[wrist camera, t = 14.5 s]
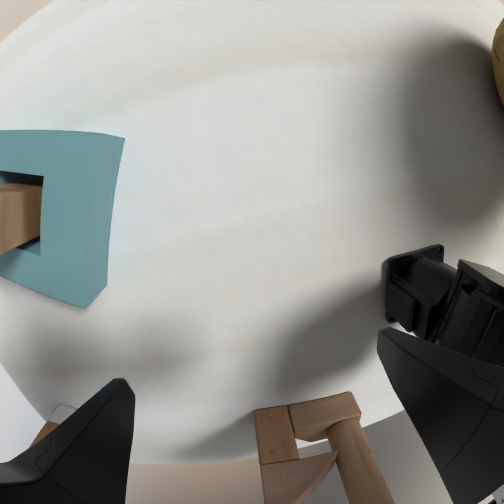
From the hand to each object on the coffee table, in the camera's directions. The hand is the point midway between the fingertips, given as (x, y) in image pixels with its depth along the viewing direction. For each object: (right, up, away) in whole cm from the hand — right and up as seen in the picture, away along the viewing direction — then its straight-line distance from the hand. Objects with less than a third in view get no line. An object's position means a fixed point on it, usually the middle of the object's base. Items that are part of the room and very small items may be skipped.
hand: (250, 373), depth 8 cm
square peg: (-17, +8, +9) cm, 21 cm away
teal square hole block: (-17, +8, +9) cm, 21 cm away
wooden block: (+6, -13, +18) cm, 23 cm away
